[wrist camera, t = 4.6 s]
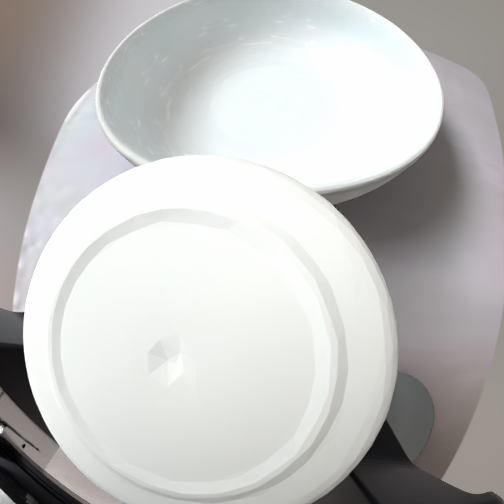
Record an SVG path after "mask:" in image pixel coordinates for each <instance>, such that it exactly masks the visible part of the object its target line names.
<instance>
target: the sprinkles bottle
mask: <svg viewBox="0 0 504 504" xmlns="http://www.w3.org/2000/svg"><path fill="white" fill-rule="evenodd" d="M23 343H24V355H25V362H26V368H27V373H28V378H29V383H30V386H31V389H32V393H33V396H34V399H35V401H36V404H37V406H38V408H39V410H40V413H41V415H42V417H43V419H44V421H45V423H46V425H47V427H48V429H49V431H50V432H51V434H52V435H53V437H54V438H55V440H56V441H57V443H58V444H59V446H60V447H61V449H62V450H63V452H64V453H65V454H66V455H67V456H68V458H69V459H70V460H71V461H72V462H73V463H74V464H75V465H76V466H77V467H78V469H79V470H80V471H81V472H82V473H83V474H84V475H86V476H87V477H88V478H89V479H90V480H91V481H92V482H93V483H94V484H95V485H97V486H98V487H100V488H101V489H102V490H104V491H105V492H106V493H108V494H109V495H111V496H112V497H114V498H115V499H117V500H118V501H120V502H122V503H124V504H311V503H313V502H315V501H316V500H318V499H320V498H321V497H323V496H324V495H326V494H327V493H329V492H330V491H331V490H332V489H333V488H335V487H336V486H337V485H338V484H339V483H340V482H341V481H343V480H344V479H345V478H346V477H347V476H348V475H349V473H350V472H351V471H352V470H353V469H354V468H355V467H356V466H357V465H358V463H359V462H360V461H361V460H362V458H363V457H364V456H365V454H366V453H367V451H368V450H369V449H370V447H371V446H372V444H373V442H374V440H375V438H376V437H377V435H378V433H379V431H380V429H381V427H382V425H383V423H384V421H385V419H386V416H387V414H388V411H389V408H390V404H391V400H392V396H393V392H394V388H395V384H396V379H397V371H398V361H399V340H398V332H397V323H396V318H395V313H394V308H393V304H392V300H391V297H390V294H389V291H388V288H387V285H386V282H385V280H384V277H383V275H382V273H381V271H380V269H379V267H378V265H377V263H376V261H375V259H374V257H373V255H372V253H371V251H370V250H369V248H368V247H367V245H366V244H365V242H364V241H363V239H362V238H361V237H360V235H359V234H358V233H357V231H356V230H355V229H354V227H353V226H352V225H351V223H350V222H349V221H348V220H347V219H346V218H345V217H344V216H343V215H342V214H341V213H340V212H339V211H338V210H337V209H336V208H335V207H334V206H333V205H332V204H331V203H330V202H329V201H328V200H326V199H325V198H324V197H322V196H321V195H319V194H318V193H316V192H315V191H313V190H312V189H310V188H309V187H307V186H306V185H304V184H303V183H301V182H299V181H298V180H296V179H294V178H293V177H291V176H289V175H287V174H285V173H282V172H280V171H278V170H276V169H273V168H270V167H268V166H265V165H262V164H259V163H255V162H252V161H248V160H244V159H239V158H234V157H227V156H216V155H185V156H177V157H171V158H164V159H160V160H157V161H154V162H151V163H147V164H144V165H141V166H138V167H135V168H133V169H131V170H129V171H127V172H125V173H122V174H120V175H118V176H117V177H115V178H113V179H111V180H110V181H108V182H106V183H105V184H103V185H102V186H100V187H99V188H97V189H96V190H94V191H93V192H92V193H90V194H89V195H88V196H87V197H85V198H84V199H83V200H82V201H81V202H80V203H79V204H78V205H76V206H75V207H74V208H73V209H72V211H71V212H70V213H69V214H68V215H67V216H66V218H65V219H64V220H63V221H62V222H61V224H60V225H59V226H58V227H57V229H56V230H55V232H54V233H53V235H52V236H51V238H50V240H49V242H48V243H47V245H46V247H45V249H44V250H43V252H42V254H41V257H40V259H39V261H38V263H37V266H36V268H35V271H34V274H33V277H32V280H31V283H30V287H29V291H28V295H27V300H26V305H25V313H24V325H23Z"/></svg>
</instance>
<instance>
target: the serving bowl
mask: <svg viewBox="0 0 504 504" xmlns="http://www.w3.org/2000/svg"><path fill="white" fill-rule="evenodd" d="M95 108H96V113H97V118H98V122H99V124H100V127H101V129H102V131H103V133H104V135H105V136H106V138H107V139H108V141H109V142H110V143H111V145H112V146H113V147H114V148H115V149H116V150H117V151H118V152H119V153H120V154H121V155H122V156H123V157H125V158H126V159H127V160H128V161H129V162H130V163H131V164H133V165H134V166H135V167H138V166H141V165H144V164H147V163H151V162H154V161H157V160H160V159H164V158H171V157H177V156H185V155H216V156H227V157H234V158H239V159H244V160H248V161H252V162H255V163H259V164H262V165H265V166H268V167H270V168H273V169H276V170H278V171H280V172H282V173H285V174H287V175H289V176H291V177H293V178H294V179H296V180H298V181H299V182H301V183H303V184H304V185H306V186H307V187H309V188H310V189H312V190H313V191H315V192H316V193H318V194H319V195H321V196H322V197H324V198H325V199H326V200H328V201H329V202H330V203H331V204H332V205H334V204H337V203H341V202H344V201H347V200H350V199H353V198H356V197H359V196H361V195H363V194H365V193H368V192H370V191H372V190H374V189H376V188H378V187H380V186H382V185H383V184H385V183H387V182H389V181H390V180H392V179H393V178H395V177H396V176H398V175H399V174H400V173H402V172H403V171H404V170H406V169H407V168H408V167H410V166H411V165H412V164H413V163H415V162H416V161H417V160H418V159H419V158H420V157H421V156H422V155H423V154H424V153H425V152H426V151H427V150H428V148H429V147H430V146H431V144H432V143H433V141H434V140H435V138H436V136H437V134H438V132H439V129H440V127H441V124H442V120H443V115H444V98H443V92H442V87H441V84H440V81H439V78H438V76H437V74H436V72H435V70H434V68H433V66H432V64H431V63H430V61H429V60H428V58H427V57H426V55H425V54H424V53H423V51H422V50H421V49H420V48H419V47H418V45H417V44H416V43H415V42H414V41H413V40H412V39H411V38H410V37H409V36H408V35H406V34H405V33H404V32H403V31H402V30H401V29H399V28H398V27H397V26H395V25H394V24H393V23H392V22H390V21H389V20H387V19H385V18H384V17H382V16H381V15H379V14H377V13H375V12H374V11H372V10H370V9H368V8H365V7H363V6H361V5H359V4H357V3H354V2H352V1H349V0H186V1H183V2H180V3H178V4H176V5H174V6H172V7H170V8H167V9H165V10H164V11H162V12H160V13H158V14H157V15H155V16H153V17H151V18H150V19H149V20H147V21H146V22H144V23H143V24H141V25H140V26H139V27H138V28H136V29H135V30H133V31H132V32H131V33H130V34H129V35H128V36H127V37H126V38H125V39H124V40H123V41H122V42H121V43H120V44H119V45H118V47H117V48H116V49H115V50H114V52H113V53H112V54H111V56H110V57H109V59H108V60H107V62H106V64H105V66H104V68H103V70H102V72H101V74H100V77H99V80H98V84H97V88H96V95H95Z"/></svg>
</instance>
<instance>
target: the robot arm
mask: <svg viewBox="0 0 504 504" xmlns="http://www.w3.org/2000/svg"><path fill="white" fill-rule="evenodd" d="M24 313H25V312H12V311H8V310H5V309H1V308H0V504H90V503H88V502H87V501H85V500H84V499H82V498H81V497H79V496H78V495H76V494H75V493H74V492H72V491H71V490H69V489H68V488H67V487H65V486H64V485H63V484H61V483H60V482H59V481H57V480H56V479H55V478H53V477H52V476H51V475H50V474H48V473H47V472H46V471H45V470H44V469H45V468H46V466H47V465H48V463H49V462H50V460H51V459H52V457H53V455H54V454H55V452H56V451H57V449H58V448H59V447H60V446H59V444H58V443H57V441H56V440H55V438H54V437H53V435H52V434H51V432H50V431H49V429H48V427H47V425H46V423H45V421H44V419H43V417H42V415H41V413H40V410H39V408H38V406H37V404H36V401H35V399H34V396H33V393H32V389H31V386H30V383H29V378H28V373H27V368H26V362H25V355H24V343H23V325H24ZM60 448H61V447H60ZM311 504H504V501H503V499H502V498H501V497H500V496H498V495H496V494H495V493H493V492H487V493H483V494H471V493H467V492H465V491H462V490H460V489H458V488H456V487H454V486H452V485H450V484H448V483H446V482H444V481H442V480H440V479H438V478H436V477H434V476H432V475H430V474H428V473H427V472H425V471H423V470H421V469H419V468H418V467H417V466H415V465H414V464H413V463H412V461H411V460H410V459H409V458H408V456H407V454H406V453H405V451H404V449H403V447H402V446H401V444H400V442H399V440H398V439H397V437H396V435H395V433H394V432H393V430H392V428H391V426H390V425H389V423H388V421H387V419H385V421H384V423H383V425H382V427H381V429H380V431H379V433H378V435H377V437H376V438H375V440H374V442H373V444H372V446H371V447H370V449H369V450H368V451H367V453H366V454H365V456H364V457H363V458H362V460H361V461H360V462H359V463H358V465H357V466H356V467H355V468H354V469H353V470H352V471H351V472H350V473H349V475H348V476H347V477H346V478H345V479H344V480H343V481H341V482H340V483H339V484H338V485H337V486H336V487H335V488H333V489H332V490H331V491H330V492H329V493H327V494H326V495H324V496H323V497H321V498H320V499H318V500H316V501H315V502H313V503H311Z"/></svg>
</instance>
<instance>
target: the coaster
mask: <svg viewBox="0 0 504 504" xmlns="http://www.w3.org/2000/svg"><path fill="white" fill-rule="evenodd" d="M386 419H387V421H388V423H389V425H390V426H391V428H392V430H393V432H394V433H395V435H396V437H397V439H398V440H399V442H400V444H401V446H402V447H403V449H404V451H405V453H406V454H407V456H408V458H409V459H410V460H411V461H412V462H413V461H414V460H415V459H416V458H417V456H418V455H419V454H420V452H421V451H422V449H423V448H424V446H425V444H426V442H427V440H428V438H429V436H430V433H431V430H432V425H433V419H434V409H433V403H432V399H431V397H430V394H429V392H428V391H427V389H426V388H425V387H424V385H423V384H422V383H421V382H419V381H418V380H417V379H415V378H413V377H412V376H409V375H406V374H403V373H400V372H397V379H396V384H395V388H394V392H393V396H392V400H391V404H390V408H389V411H388V414H387V416H386Z"/></svg>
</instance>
